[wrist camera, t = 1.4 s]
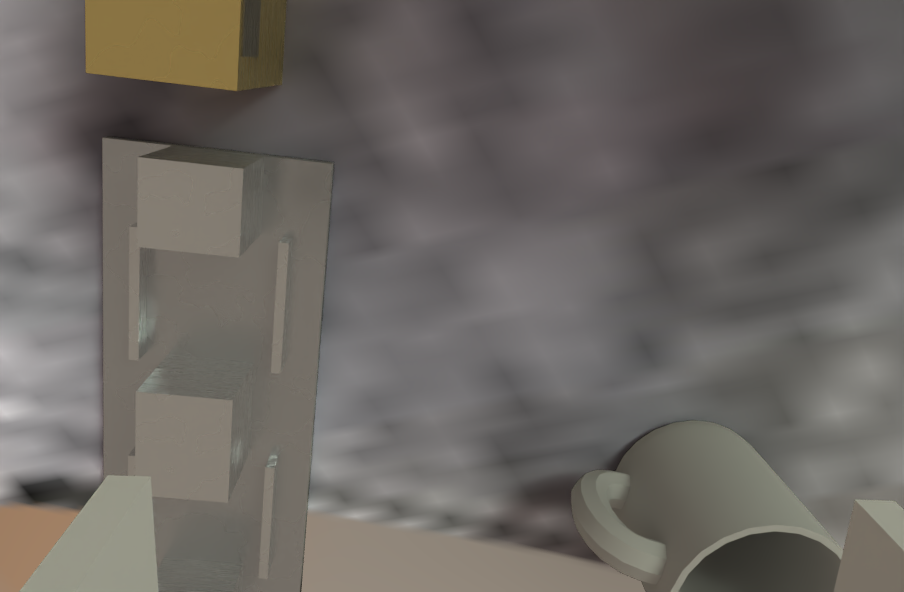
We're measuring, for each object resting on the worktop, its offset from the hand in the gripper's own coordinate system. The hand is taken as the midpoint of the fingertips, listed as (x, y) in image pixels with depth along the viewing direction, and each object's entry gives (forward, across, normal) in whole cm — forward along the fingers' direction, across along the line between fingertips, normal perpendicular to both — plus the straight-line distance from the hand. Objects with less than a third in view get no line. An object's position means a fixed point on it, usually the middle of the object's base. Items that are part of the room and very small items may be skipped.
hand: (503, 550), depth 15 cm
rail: (+20, -11, -6) cm, 23 cm away
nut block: (+20, -10, +10) cm, 24 cm away
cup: (+20, +10, -10) cm, 24 cm away
